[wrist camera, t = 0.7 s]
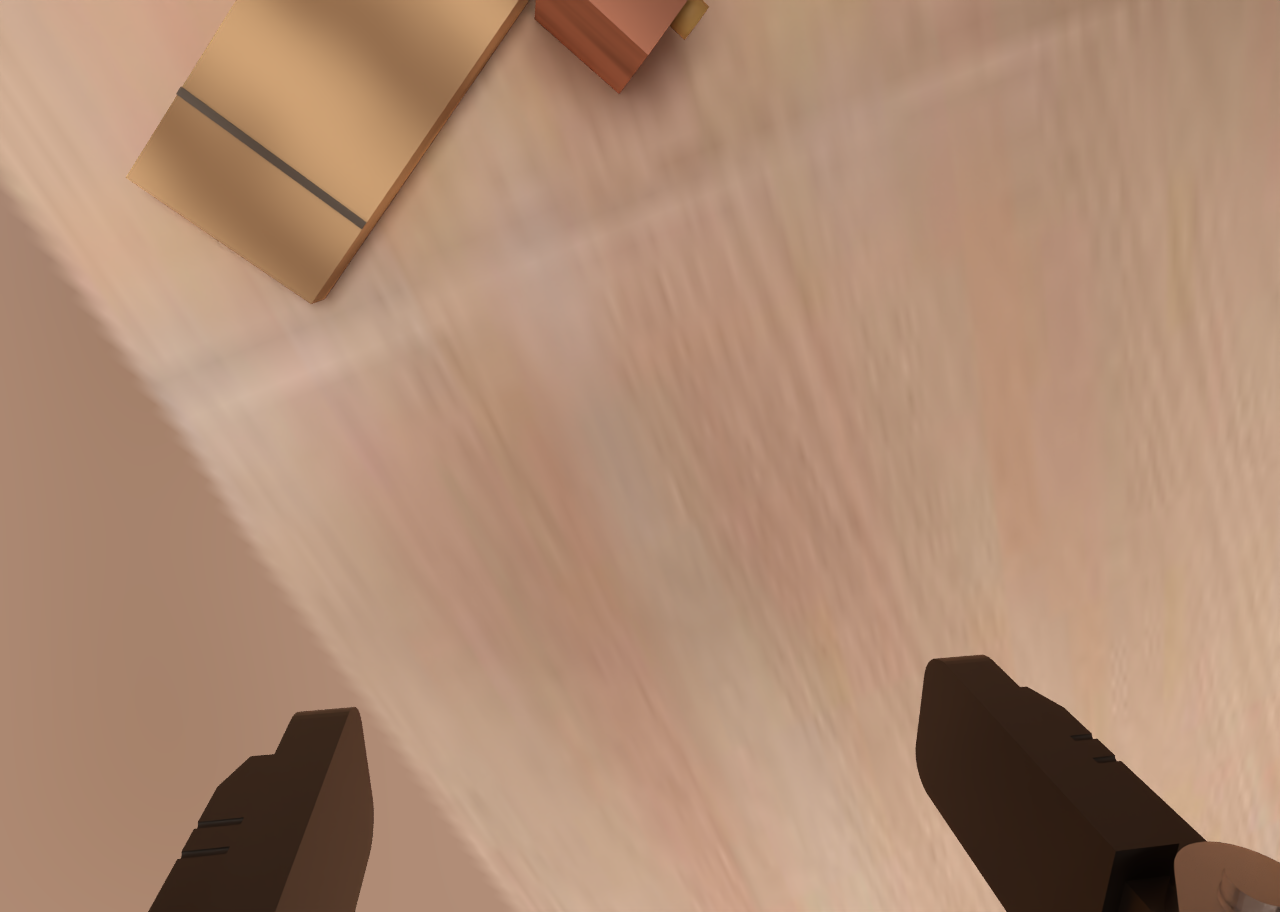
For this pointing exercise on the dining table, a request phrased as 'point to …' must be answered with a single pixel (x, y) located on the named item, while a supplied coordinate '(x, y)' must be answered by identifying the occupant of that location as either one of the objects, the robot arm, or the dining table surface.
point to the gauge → (616, 30)
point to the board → (314, 123)
